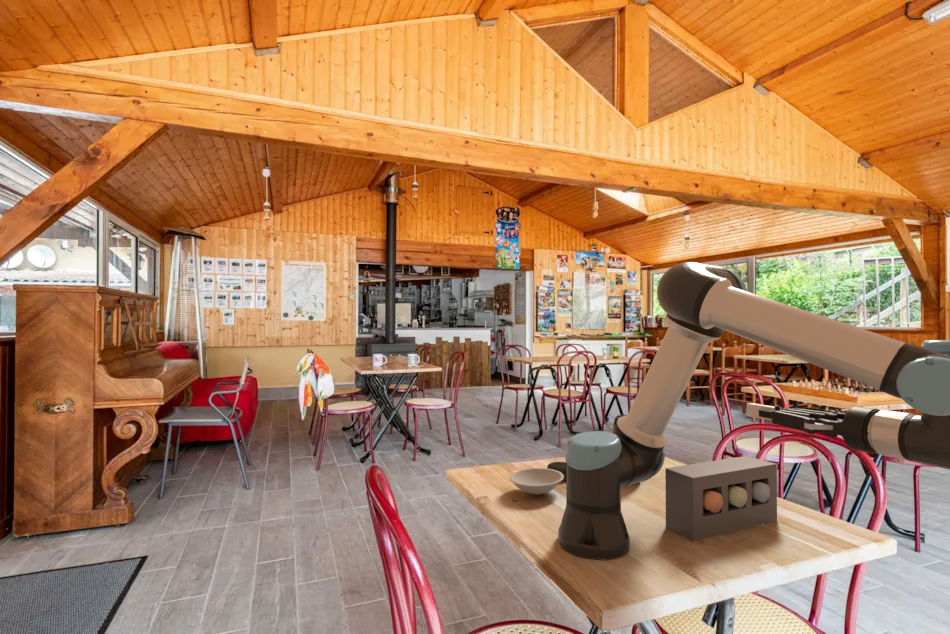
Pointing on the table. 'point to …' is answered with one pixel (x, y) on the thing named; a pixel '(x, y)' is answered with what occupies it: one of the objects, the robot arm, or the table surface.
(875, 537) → the table surface
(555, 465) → the smart speaker
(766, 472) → the console
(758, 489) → the grey rounded knob
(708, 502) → the terracotta button
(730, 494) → the sage button
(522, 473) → the dish
